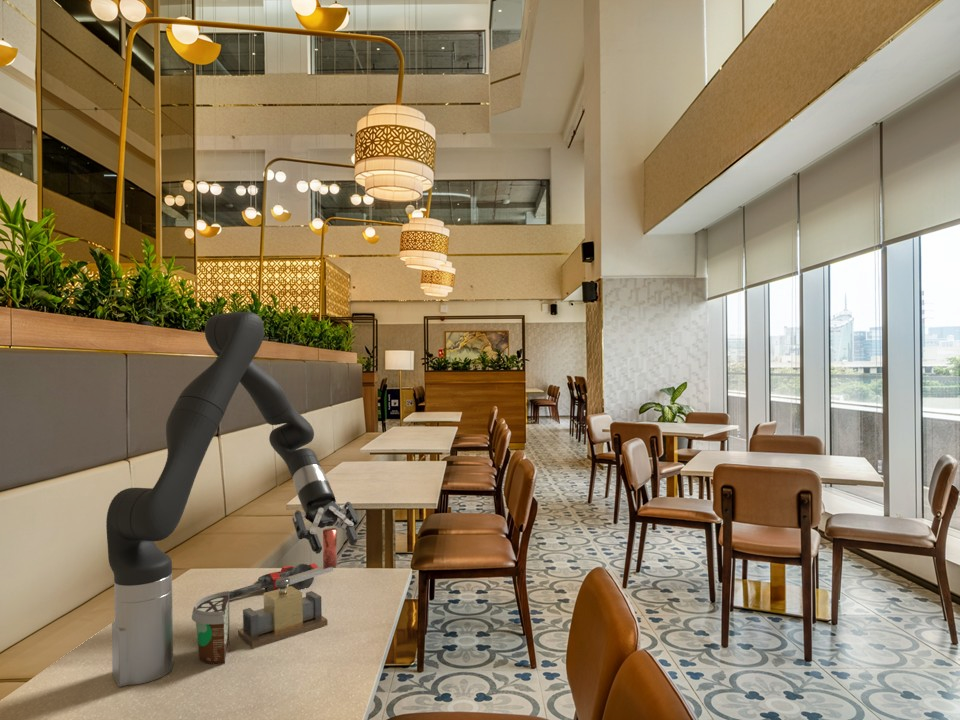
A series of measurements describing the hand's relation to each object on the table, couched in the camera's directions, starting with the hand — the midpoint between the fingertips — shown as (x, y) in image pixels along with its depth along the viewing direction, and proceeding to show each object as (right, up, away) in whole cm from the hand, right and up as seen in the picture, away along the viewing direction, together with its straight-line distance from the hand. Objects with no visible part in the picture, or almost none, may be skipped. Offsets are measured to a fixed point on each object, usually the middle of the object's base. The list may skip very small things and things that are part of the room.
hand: (337, 547), depth 134 cm
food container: (-20, -15, -18) cm, 31 cm away
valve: (-22, -17, +19) cm, 34 cm away
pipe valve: (-10, -15, -7) cm, 19 cm away
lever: (-6, -6, -2) cm, 9 cm away
